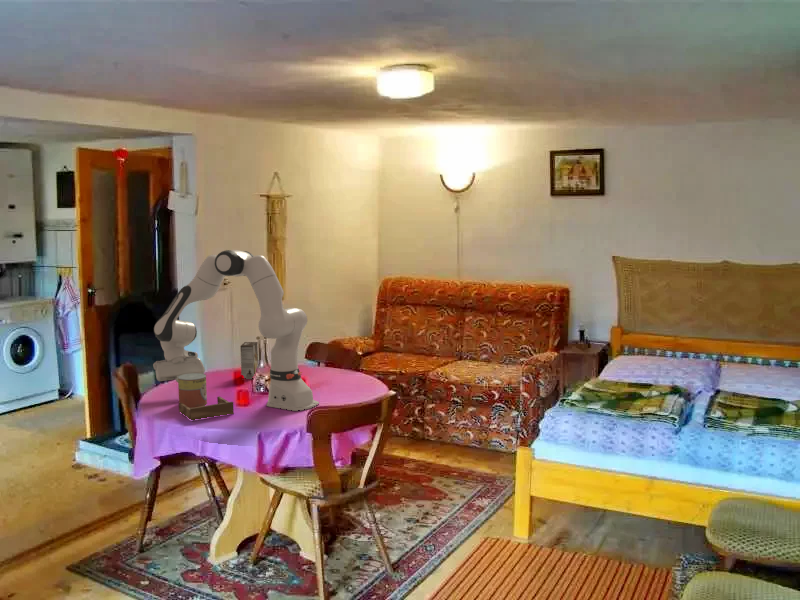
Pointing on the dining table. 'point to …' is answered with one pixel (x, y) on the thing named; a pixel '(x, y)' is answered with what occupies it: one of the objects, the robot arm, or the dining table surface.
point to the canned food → (192, 389)
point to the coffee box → (249, 359)
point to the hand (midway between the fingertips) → (184, 385)
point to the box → (207, 409)
